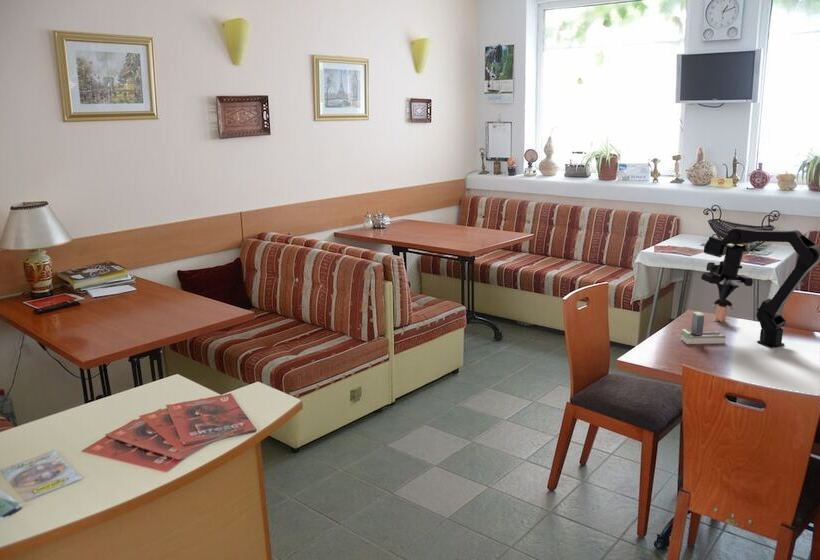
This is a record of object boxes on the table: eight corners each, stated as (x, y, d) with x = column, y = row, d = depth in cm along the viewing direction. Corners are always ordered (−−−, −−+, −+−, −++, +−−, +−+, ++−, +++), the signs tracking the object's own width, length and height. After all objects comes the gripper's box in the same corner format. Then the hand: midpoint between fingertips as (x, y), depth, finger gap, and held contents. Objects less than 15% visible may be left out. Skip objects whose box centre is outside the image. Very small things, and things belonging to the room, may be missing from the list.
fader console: (718, 338, 255) (719, 328, 254) (724, 343, 250) (725, 332, 250) (680, 339, 255) (681, 329, 254) (686, 343, 250) (687, 333, 249)
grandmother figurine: (710, 321, 276) (714, 290, 273) (710, 318, 280) (713, 288, 277) (731, 323, 274) (735, 292, 271) (731, 320, 277) (735, 290, 274)
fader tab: (697, 333, 254) (700, 311, 252) (703, 337, 250) (705, 314, 248) (689, 333, 254) (692, 311, 252) (694, 337, 250) (697, 315, 248)
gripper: (737, 256, 265) (727, 295, 269) (696, 253, 259) (686, 293, 263) (759, 264, 254) (747, 305, 258) (716, 261, 249) (705, 302, 253)
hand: (721, 301), depth 259 cm, fingers closed
